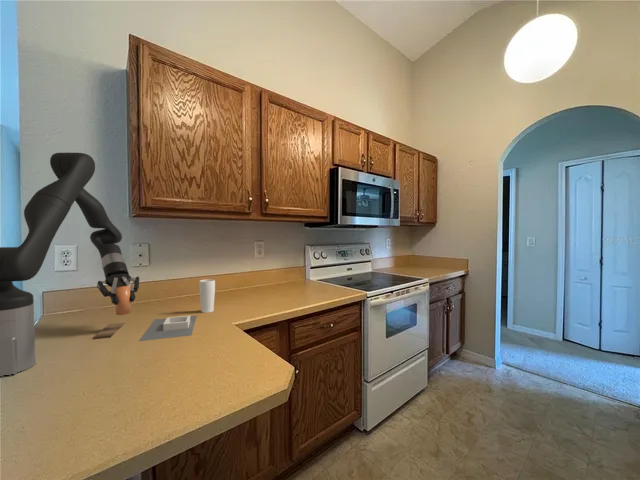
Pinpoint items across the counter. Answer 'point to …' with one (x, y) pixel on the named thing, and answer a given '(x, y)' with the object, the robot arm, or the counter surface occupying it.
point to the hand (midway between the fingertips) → (124, 301)
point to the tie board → (170, 328)
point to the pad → (108, 331)
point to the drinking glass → (207, 295)
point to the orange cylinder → (123, 300)
